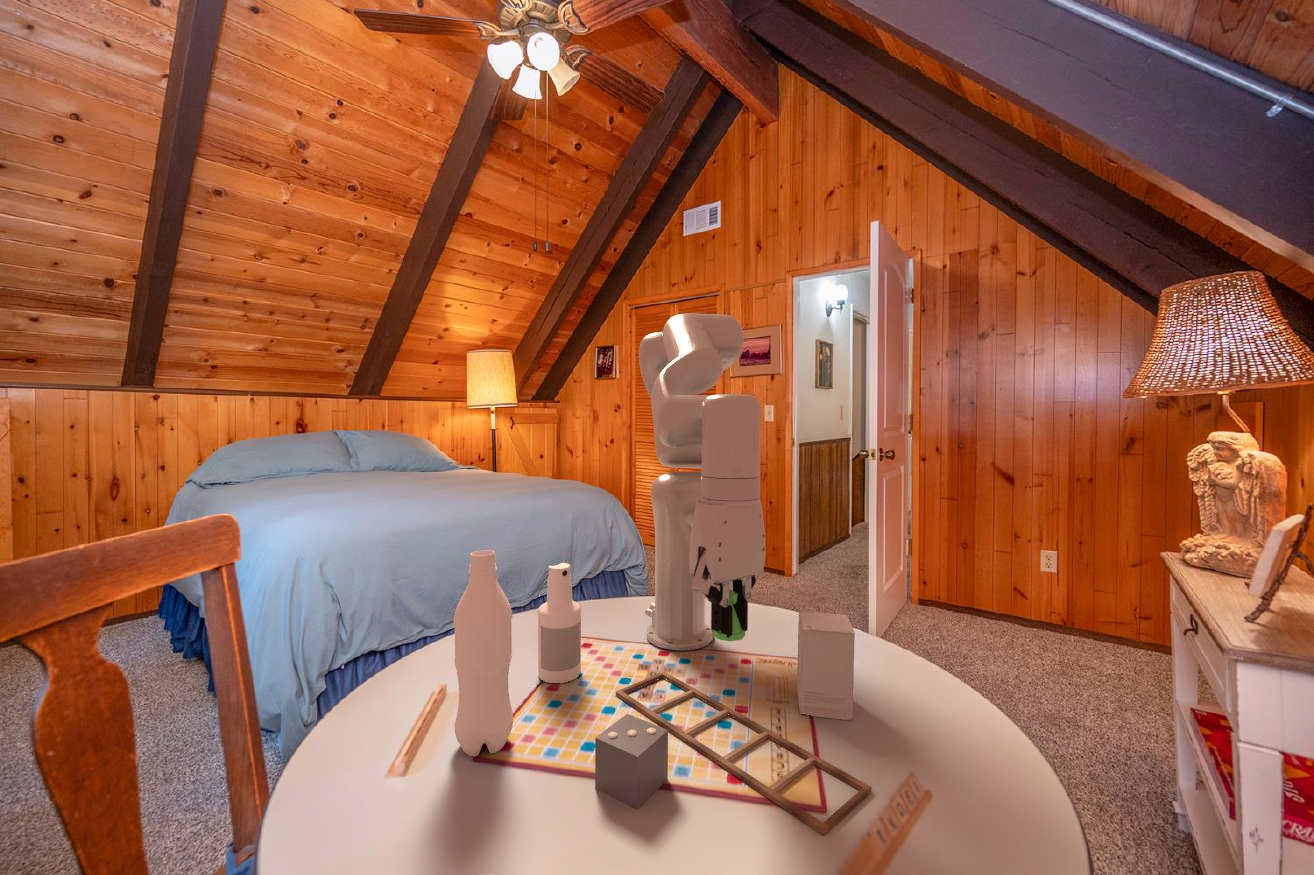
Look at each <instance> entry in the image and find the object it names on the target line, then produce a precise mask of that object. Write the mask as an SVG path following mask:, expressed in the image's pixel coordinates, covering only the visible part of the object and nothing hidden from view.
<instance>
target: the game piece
mask: <svg viewBox="0 0 1314 875" xmlns="http://www.w3.org/2000/svg"><path fill="white" fill-rule="evenodd" d="M737 596H738V594H737V593H735V592H734V591H732V590H730V589H729V605H730V606H732V608H733V617H732V635H731V636H730V637H729V638H727V635H726V634H723V633H721V631H719V632H718V631H716V630H714V629H713V631H712V635H713V637H714V638H716V639H717V640H720V641H725V642H735V641H742V640H743V639H744V637H745V636H746V631H745V630H742V628H741V625H740V622H739V620H738V617H737V614H736V612H735V609H734V606H733V604H735V603H736V601H737Z"/></svg>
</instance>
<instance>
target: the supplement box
mask: <svg viewBox="0 0 1314 875" xmlns="http://www.w3.org/2000/svg"><path fill="white" fill-rule="evenodd" d="M797 622H798V623H797V624H798V625H797V626H798V627H797V628H798V629H797V672H796V673H797V677H796V695H797V701H798V702H797V704H798V709H799V715H801V714H808V715H811V716H810V717H817V718H826V719H834V720H842V721H852V720H853V714H854V711H853V710H854V676H855V675H854V674H855V673H854V672H855V668H854V667H855V666H854V665H855V637H856V636H855V635H856V632H855V630H854V628H853V626H852V624H851V621H850V618H849V616H848V614H839V613H827V612H811V611H799V612H798V621H797ZM808 715H807V716H808Z"/></svg>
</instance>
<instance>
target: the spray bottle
mask: <svg viewBox="0 0 1314 875" xmlns="http://www.w3.org/2000/svg"><path fill="white" fill-rule="evenodd" d="M572 583H573V581H572V577H571V564H569V563H566V562H560V563H559V564H555V565H548V577H547V584H546V585H547V587H546V588H547V591H546V602H544V603H542V604H541V605H540V606H539V607H538V609H537V617H538V619H537V623H538V624H537V627H538V628H537V634H538V636H537V638H538V639H537V641H538V643H537V645H538V648H537V652H538V656H537V658H538V661H537V663H538V665H537V666H538V670H537V671H538V672H537V674H538V677H539V679H540V680H541V681H542V680H543V681H542V682H544V681H545V683H547V682H550V683H549V684H551V683H560V684H566V683H569V682H568V681H570V682H572V681H574V680H576V679H577V678H578V677H579V676H580V674H581V667H582V665H581V664H582V661H581V660H582V658H581V656H582V655H581V654H582V653H581V652H582V651H581V650H582V648H581V647H582V646H581V645H582V643H581V641H582V639H581V637H582V636H581V635H582V634H581V632H582V630H581V628H582V626H581V625H582V618H581V617H582V614H581V612H582V610H581V605H580V604H579V603H578V602H577V601H575V600H573V591H572V587H573V586H572ZM573 679H574V680H573ZM571 680H572V681H571ZM565 682H566V683H565Z"/></svg>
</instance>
